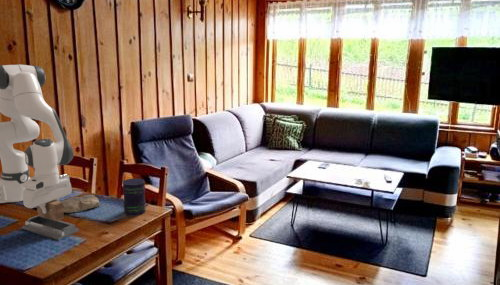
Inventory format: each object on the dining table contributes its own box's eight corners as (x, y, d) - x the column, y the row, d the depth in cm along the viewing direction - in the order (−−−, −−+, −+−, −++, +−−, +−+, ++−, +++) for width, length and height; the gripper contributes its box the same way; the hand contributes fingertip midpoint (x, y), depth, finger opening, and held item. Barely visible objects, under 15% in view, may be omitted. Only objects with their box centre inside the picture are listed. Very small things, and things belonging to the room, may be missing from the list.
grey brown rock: (58, 217, 182) (103, 207, 194) (57, 207, 181) (102, 197, 193) (51, 208, 193) (93, 199, 205) (49, 199, 192) (92, 190, 204)
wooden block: (36, 216, 169) (34, 200, 167) (44, 213, 172) (42, 197, 171) (56, 222, 164) (54, 205, 162) (64, 218, 167) (62, 202, 165)
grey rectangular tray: (22, 228, 169) (21, 221, 168) (43, 220, 178) (42, 213, 177) (58, 240, 160) (57, 232, 159) (79, 230, 168) (78, 223, 168)
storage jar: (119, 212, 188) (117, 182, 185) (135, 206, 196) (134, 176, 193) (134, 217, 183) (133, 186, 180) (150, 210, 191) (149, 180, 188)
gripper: (63, 171, 175) (65, 201, 178) (18, 184, 157) (22, 218, 160) (73, 173, 172) (76, 204, 175) (29, 187, 155) (33, 221, 157)
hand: (50, 211), depth 168 cm, fingers closed on wooden block, 3 cm apart
